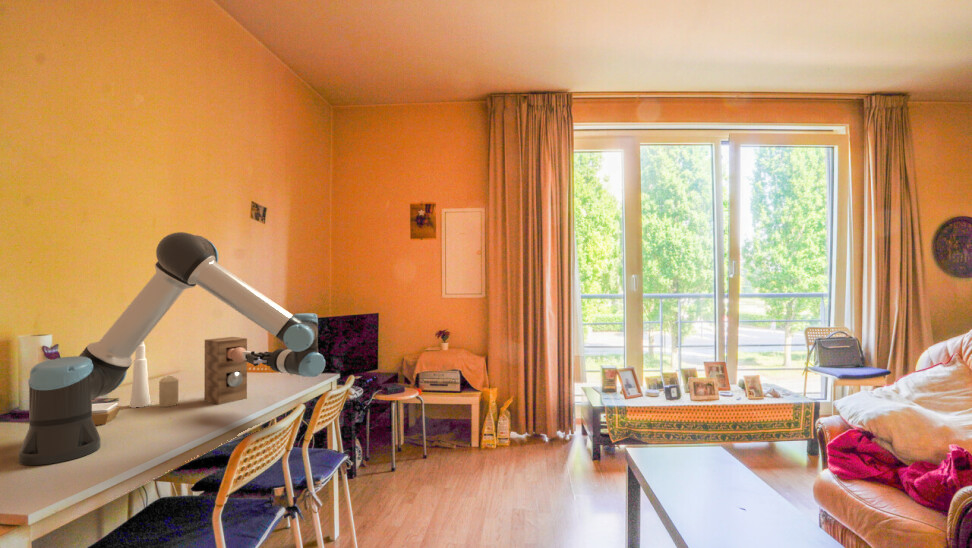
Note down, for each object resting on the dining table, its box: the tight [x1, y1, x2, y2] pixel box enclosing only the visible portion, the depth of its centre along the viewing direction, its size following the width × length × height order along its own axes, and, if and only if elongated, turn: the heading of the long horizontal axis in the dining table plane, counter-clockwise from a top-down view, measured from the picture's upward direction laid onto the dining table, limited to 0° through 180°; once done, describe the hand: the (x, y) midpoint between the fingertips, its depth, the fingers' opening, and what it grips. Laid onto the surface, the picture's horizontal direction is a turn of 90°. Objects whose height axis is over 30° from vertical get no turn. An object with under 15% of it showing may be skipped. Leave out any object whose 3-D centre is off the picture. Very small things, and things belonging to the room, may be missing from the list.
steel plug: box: [226, 372, 243, 387], centre depth 168 cm, size 11×5×5 cm, turn 57°
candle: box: [158, 375, 179, 408], centre depth 162 cm, size 6×6×10 cm
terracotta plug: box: [226, 347, 246, 362], centre depth 167 cm, size 11×5×5 cm, turn 57°
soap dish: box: [92, 402, 122, 426], centre depth 142 cm, size 12×10×5 cm
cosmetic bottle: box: [128, 341, 152, 409], centre depth 161 cm, size 6×6×22 cm
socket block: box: [203, 336, 248, 405], centre depth 169 cm, size 10×10×22 cm
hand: (244, 355), depth 162 cm, fingers closed
